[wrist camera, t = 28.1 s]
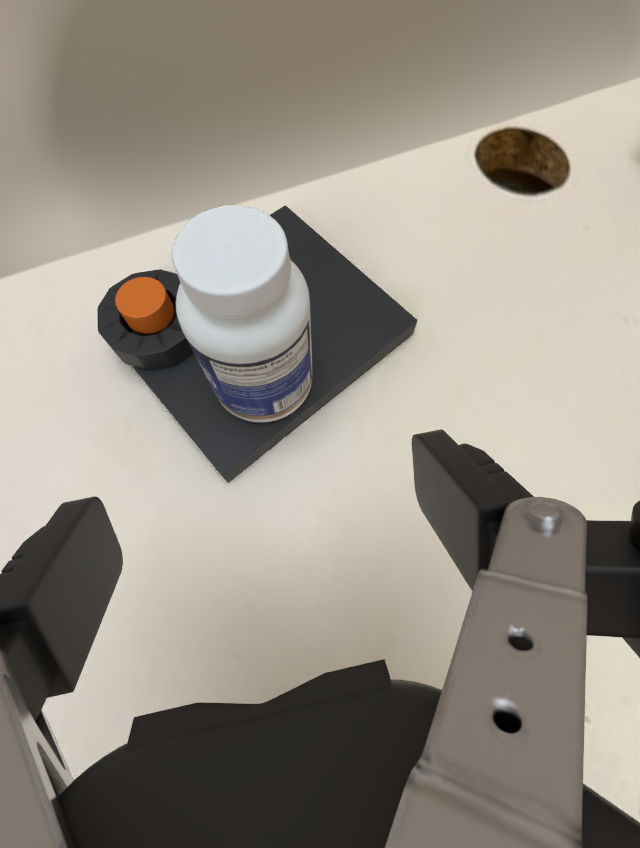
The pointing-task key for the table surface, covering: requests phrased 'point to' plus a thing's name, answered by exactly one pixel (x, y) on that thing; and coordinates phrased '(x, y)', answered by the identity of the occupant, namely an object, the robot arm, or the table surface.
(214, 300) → the pill bottle
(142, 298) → the button
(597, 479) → the table surface
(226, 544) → the table surface
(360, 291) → the scale
